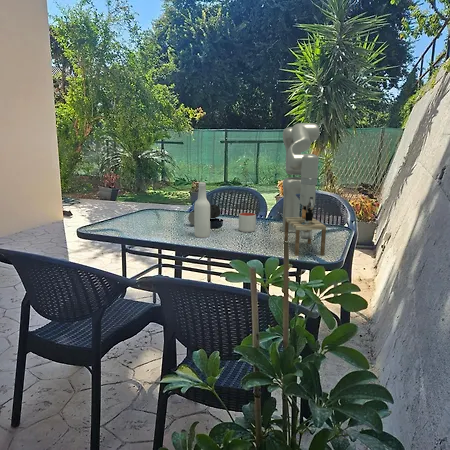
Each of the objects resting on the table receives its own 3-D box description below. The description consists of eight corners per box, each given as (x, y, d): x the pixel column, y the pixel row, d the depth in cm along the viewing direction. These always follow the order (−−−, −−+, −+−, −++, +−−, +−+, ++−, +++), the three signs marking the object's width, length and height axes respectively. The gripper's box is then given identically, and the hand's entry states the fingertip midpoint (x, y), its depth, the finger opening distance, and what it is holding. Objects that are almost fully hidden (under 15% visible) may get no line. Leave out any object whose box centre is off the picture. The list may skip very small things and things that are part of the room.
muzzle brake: (221, 219, 268) (221, 204, 265) (200, 228, 243) (200, 211, 241) (208, 218, 272) (208, 203, 269) (187, 226, 247) (186, 210, 245)
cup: (244, 228, 243) (244, 212, 241) (258, 230, 237) (259, 214, 235) (235, 231, 235) (235, 214, 233) (249, 233, 230) (250, 216, 227)
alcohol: (212, 237, 220) (212, 183, 214) (197, 238, 218) (196, 183, 211) (207, 233, 229) (207, 181, 222) (192, 234, 226) (192, 182, 219)
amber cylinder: (299, 236, 196) (300, 208, 193) (309, 236, 196) (310, 208, 193) (302, 239, 191) (303, 210, 188) (312, 239, 192) (314, 210, 189)
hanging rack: (284, 243, 209) (285, 217, 206) (310, 243, 210) (311, 216, 207) (295, 255, 187) (296, 226, 184) (324, 255, 189) (326, 226, 186)
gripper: (296, 179, 196) (294, 216, 200) (306, 183, 179) (304, 223, 183) (311, 179, 196) (309, 215, 200) (322, 183, 180) (320, 223, 184)
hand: (307, 219), depth 192 cm, fingers closed on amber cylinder, 5 cm apart
